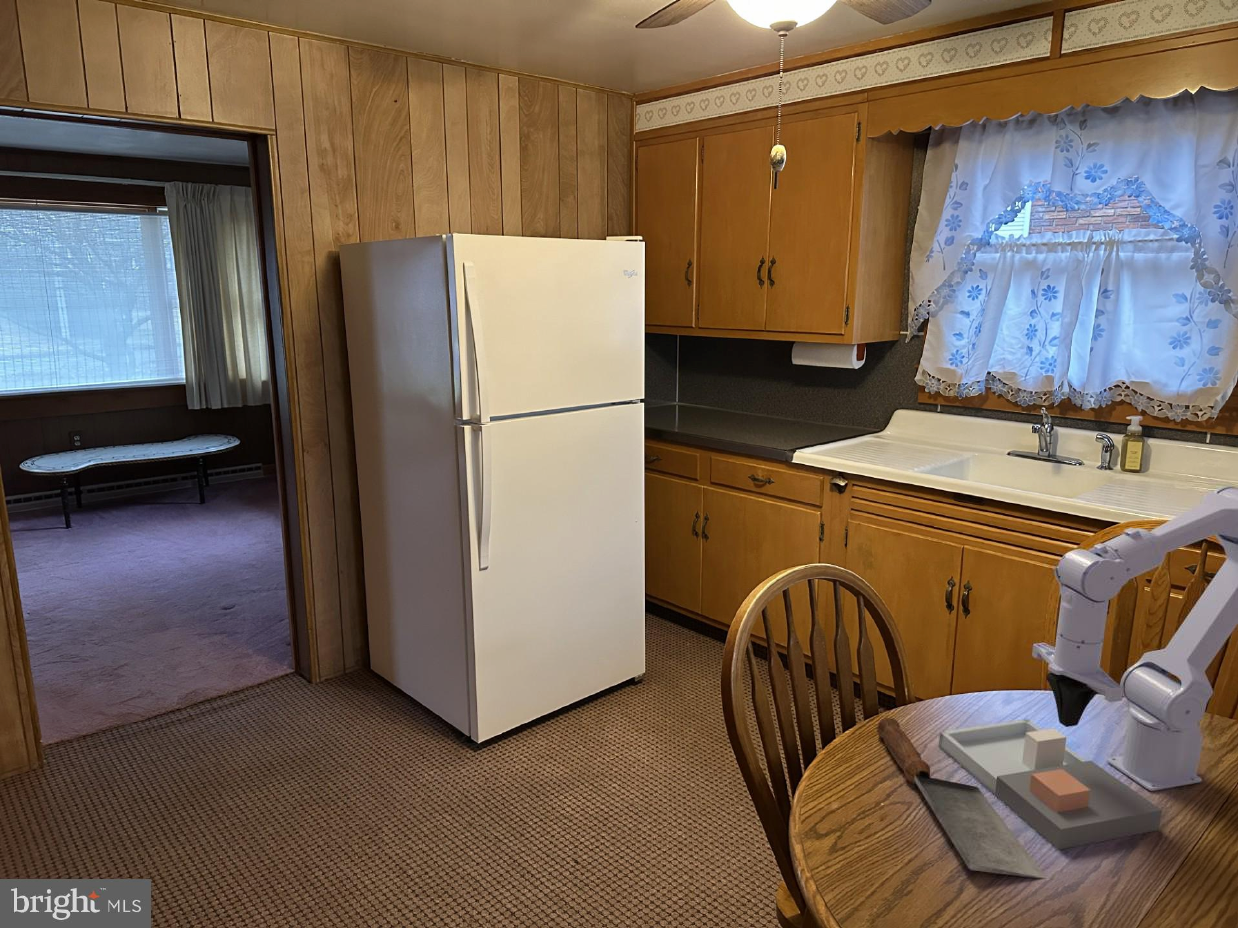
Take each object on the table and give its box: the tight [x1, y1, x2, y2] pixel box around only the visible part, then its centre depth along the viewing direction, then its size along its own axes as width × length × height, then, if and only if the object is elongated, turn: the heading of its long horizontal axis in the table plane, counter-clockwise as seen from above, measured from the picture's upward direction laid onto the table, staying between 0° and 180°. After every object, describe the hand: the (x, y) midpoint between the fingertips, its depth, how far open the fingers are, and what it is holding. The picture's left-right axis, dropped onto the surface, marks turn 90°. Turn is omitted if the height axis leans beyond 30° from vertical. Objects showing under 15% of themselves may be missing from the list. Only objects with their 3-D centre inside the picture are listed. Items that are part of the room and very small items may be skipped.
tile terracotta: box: [1029, 769, 1090, 812], centre depth 113 cm, size 5×5×2 cm
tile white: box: [1022, 728, 1067, 770], centre depth 125 cm, size 5×5×2 cm
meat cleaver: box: [876, 717, 1047, 880], centre depth 118 cm, size 34×11×4 cm, turn 3°
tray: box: [938, 718, 1087, 796], centre depth 127 cm, size 16×13×2 cm
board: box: [994, 760, 1163, 850], centre depth 115 cm, size 16×12×3 cm
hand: (1068, 723), depth 120 cm, fingers closed
